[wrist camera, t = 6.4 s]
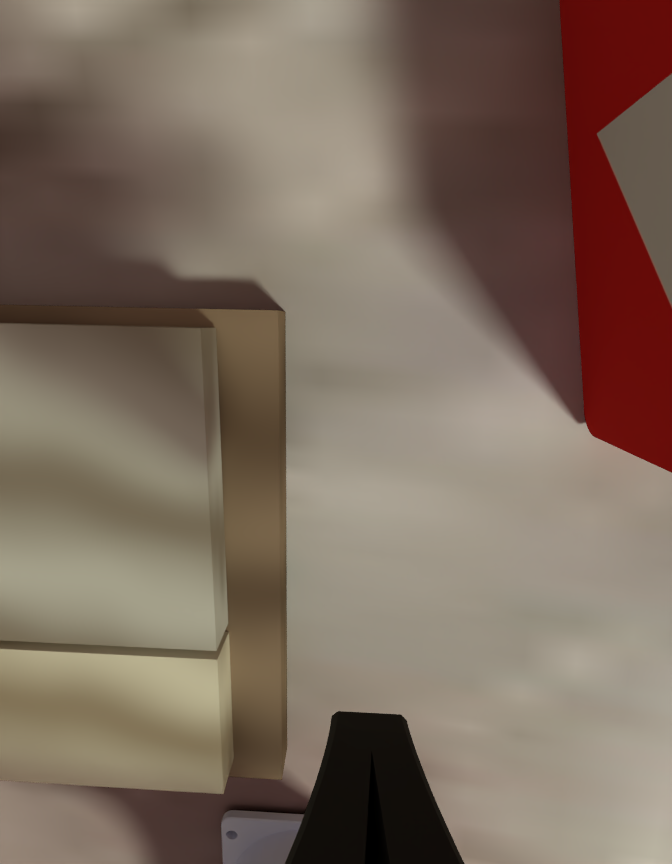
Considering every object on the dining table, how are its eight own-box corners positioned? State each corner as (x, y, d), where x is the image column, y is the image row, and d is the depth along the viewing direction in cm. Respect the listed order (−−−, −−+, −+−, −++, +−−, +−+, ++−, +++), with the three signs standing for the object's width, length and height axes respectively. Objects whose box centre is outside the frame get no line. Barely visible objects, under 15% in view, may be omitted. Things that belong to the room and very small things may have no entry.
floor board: (287, 747, 20) (275, 817, 17) (-98, 725, 21) (-170, 789, 18) (285, 312, 16) (269, 308, 13) (-199, 301, 17) (-317, 296, 14)
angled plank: (228, 623, 17) (216, 651, 16) (-125, 606, 18) (-168, 632, 16) (216, 327, 15) (200, 328, 13) (-198, 318, 15) (-257, 318, 14)
